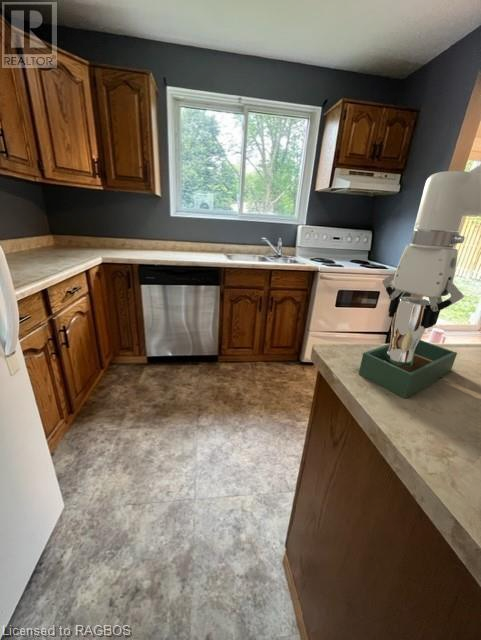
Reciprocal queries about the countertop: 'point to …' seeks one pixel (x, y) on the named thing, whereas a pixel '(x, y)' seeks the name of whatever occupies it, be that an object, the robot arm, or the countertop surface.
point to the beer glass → (407, 330)
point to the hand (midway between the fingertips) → (409, 320)
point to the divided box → (407, 368)
